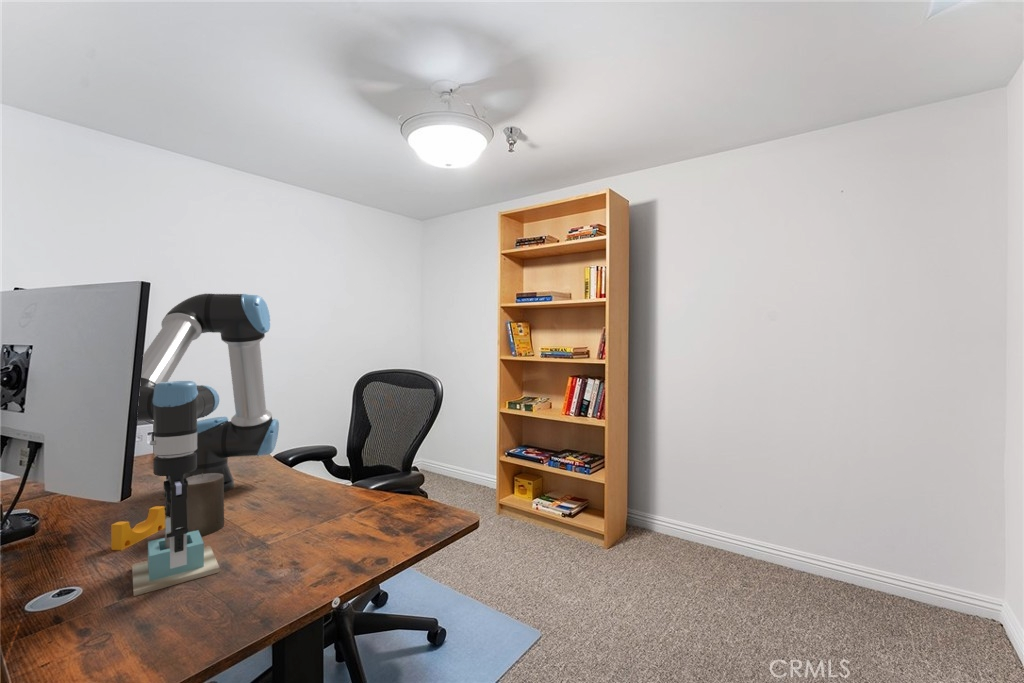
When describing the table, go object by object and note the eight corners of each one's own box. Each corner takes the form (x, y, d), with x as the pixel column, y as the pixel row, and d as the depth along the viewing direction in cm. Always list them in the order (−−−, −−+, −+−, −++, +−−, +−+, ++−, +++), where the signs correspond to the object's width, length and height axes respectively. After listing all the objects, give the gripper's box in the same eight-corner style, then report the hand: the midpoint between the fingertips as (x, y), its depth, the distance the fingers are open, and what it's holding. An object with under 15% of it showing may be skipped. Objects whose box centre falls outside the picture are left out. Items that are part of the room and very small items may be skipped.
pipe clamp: (149, 530, 118) (149, 506, 118) (165, 531, 117) (164, 506, 117) (104, 552, 106) (104, 524, 106) (121, 552, 105) (121, 524, 105)
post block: (132, 569, 97) (132, 531, 97) (209, 549, 106) (209, 515, 106) (133, 596, 87) (133, 554, 87) (219, 572, 96) (219, 534, 96)
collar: (147, 564, 97) (147, 541, 97) (198, 552, 103) (198, 530, 103) (149, 581, 90) (149, 556, 90) (203, 566, 96) (203, 543, 96)
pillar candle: (232, 527, 119) (232, 471, 119) (191, 542, 110) (191, 480, 110) (211, 521, 123) (211, 466, 124) (170, 534, 115) (170, 475, 115)
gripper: (150, 446, 103) (150, 542, 103) (156, 468, 85) (156, 583, 85) (190, 442, 108) (190, 533, 108) (204, 461, 90) (204, 570, 90)
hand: (175, 555), depth 96 cm, fingers open, 11 cm apart
